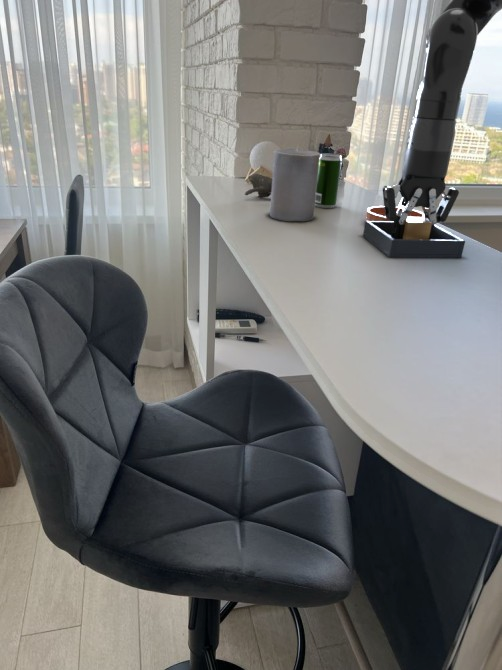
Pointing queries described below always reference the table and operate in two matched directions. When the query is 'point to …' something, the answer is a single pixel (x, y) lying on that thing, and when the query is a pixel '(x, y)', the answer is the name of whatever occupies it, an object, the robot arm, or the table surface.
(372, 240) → the tray
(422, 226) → the block
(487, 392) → the table surface
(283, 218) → the pillar candle
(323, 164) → the beer can
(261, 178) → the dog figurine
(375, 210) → the plate
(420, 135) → the robot arm
